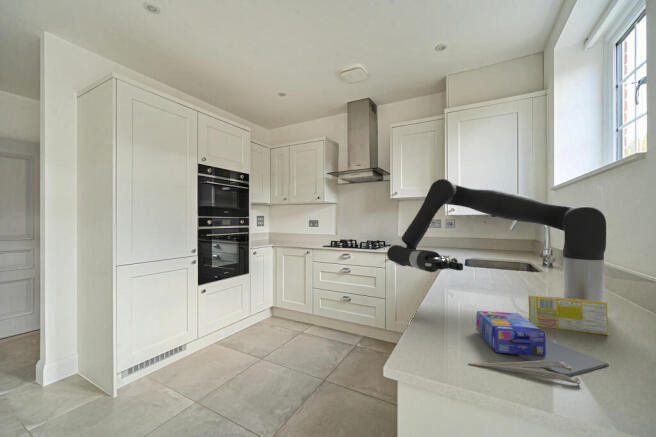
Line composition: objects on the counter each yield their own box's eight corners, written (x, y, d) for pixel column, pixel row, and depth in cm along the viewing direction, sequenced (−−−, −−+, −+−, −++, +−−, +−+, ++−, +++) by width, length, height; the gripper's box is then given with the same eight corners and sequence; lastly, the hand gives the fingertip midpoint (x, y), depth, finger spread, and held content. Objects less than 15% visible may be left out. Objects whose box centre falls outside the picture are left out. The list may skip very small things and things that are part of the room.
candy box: (604, 332, 70) (604, 300, 70) (609, 336, 68) (608, 303, 68) (528, 323, 76) (528, 294, 76) (530, 325, 74) (530, 295, 74)
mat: (531, 335, 68) (531, 333, 68) (608, 365, 54) (608, 363, 54) (492, 342, 64) (492, 340, 64) (564, 377, 50) (564, 374, 50)
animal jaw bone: (568, 367, 51) (568, 358, 51) (582, 388, 47) (582, 378, 46) (466, 360, 57) (466, 352, 57) (471, 378, 53) (470, 370, 52)
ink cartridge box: (517, 311, 68) (554, 337, 54) (518, 332, 68) (554, 364, 54) (475, 309, 70) (500, 333, 56) (475, 330, 70) (500, 360, 56)
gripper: (408, 251, 97) (443, 256, 80) (439, 248, 101) (477, 253, 84) (409, 271, 97) (444, 281, 80) (439, 269, 101) (478, 277, 84)
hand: (461, 266), depth 82 cm, fingers closed
